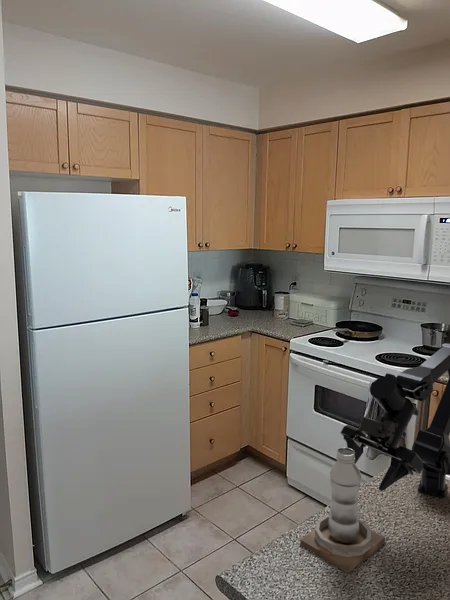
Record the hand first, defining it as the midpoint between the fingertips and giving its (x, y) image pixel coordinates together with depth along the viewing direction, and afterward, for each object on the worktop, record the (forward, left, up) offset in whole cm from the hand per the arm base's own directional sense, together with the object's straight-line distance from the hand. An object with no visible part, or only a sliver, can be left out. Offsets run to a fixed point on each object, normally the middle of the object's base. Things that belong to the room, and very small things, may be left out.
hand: (362, 481), depth 105 cm
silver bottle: (+5, -2, -11) cm, 13 cm away
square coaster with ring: (+6, -2, -12) cm, 14 cm away
